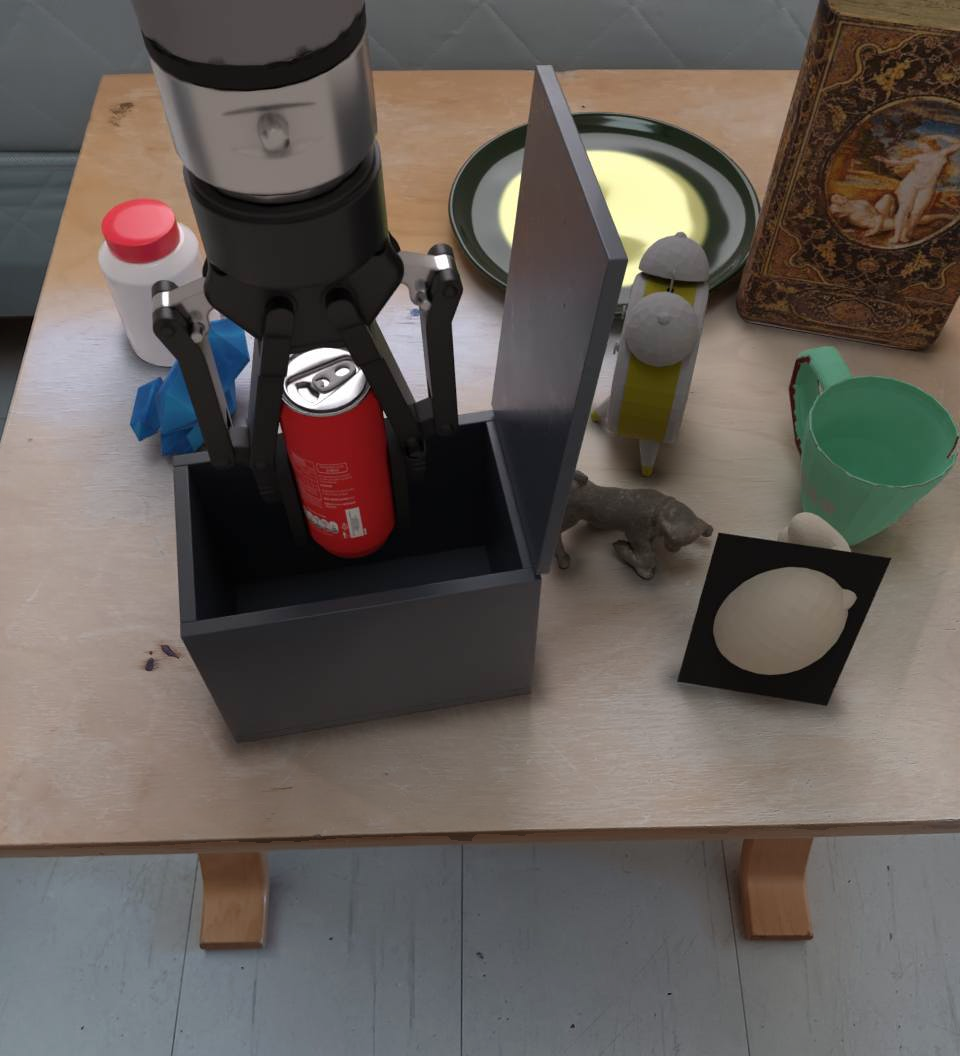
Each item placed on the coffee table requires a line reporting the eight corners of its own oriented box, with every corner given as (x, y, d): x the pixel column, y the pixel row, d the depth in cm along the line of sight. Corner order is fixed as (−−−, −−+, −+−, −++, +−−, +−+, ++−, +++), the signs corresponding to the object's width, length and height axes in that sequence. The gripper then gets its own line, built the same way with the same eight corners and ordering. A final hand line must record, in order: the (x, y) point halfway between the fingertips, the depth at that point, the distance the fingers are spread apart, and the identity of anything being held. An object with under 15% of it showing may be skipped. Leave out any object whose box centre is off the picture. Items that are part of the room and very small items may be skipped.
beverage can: (291, 522, 58) (249, 373, 48) (363, 478, 60) (337, 324, 49) (343, 579, 56) (310, 436, 46) (415, 532, 58) (399, 383, 47)
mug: (929, 555, 72) (990, 466, 64) (808, 590, 71) (853, 504, 62) (833, 412, 79) (876, 314, 71) (721, 441, 78) (751, 344, 69)
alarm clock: (664, 489, 75) (703, 339, 62) (576, 473, 76) (596, 322, 63) (684, 380, 81) (723, 221, 68) (602, 366, 82) (625, 206, 69)
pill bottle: (192, 289, 86) (156, 175, 77) (240, 338, 83) (209, 225, 74) (113, 329, 84) (66, 217, 74) (160, 381, 81) (117, 270, 71)
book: (732, 319, 84) (818, 12, 63) (739, 277, 87) (825, -32, 65) (929, 354, 82) (1089, 48, 61) (931, 309, 85) (1085, 1, 63)
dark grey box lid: (608, 260, 37) (629, 259, 37) (535, 64, 43) (552, 64, 43) (535, 575, 54) (549, 574, 54) (490, 403, 61) (503, 402, 61)
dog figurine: (534, 562, 72) (539, 499, 66) (552, 501, 75) (559, 434, 68) (697, 599, 70) (719, 538, 64) (710, 536, 73) (732, 471, 67)
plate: (752, 354, 82) (759, 331, 80) (422, 317, 85) (421, 294, 82) (758, 148, 96) (765, 124, 94) (475, 121, 98) (475, 96, 96)
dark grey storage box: (236, 743, 65) (180, 637, 53) (224, 582, 71) (172, 455, 59) (531, 692, 67) (542, 579, 55) (494, 540, 73) (497, 408, 61)
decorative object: (680, 609, 72) (819, 630, 72) (675, 712, 65) (830, 737, 64) (718, 462, 64) (877, 484, 63) (718, 562, 56) (897, 589, 55)
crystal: (86, 401, 71) (177, 271, 74) (139, 459, 79) (219, 341, 82) (170, 439, 69) (259, 305, 72) (215, 495, 77) (294, 373, 80)
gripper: (27, 242, 35) (196, 598, 55) (538, 178, 36) (519, 547, 56) (34, 115, 38) (190, 492, 58) (498, 62, 40) (493, 447, 60)
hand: (351, 519), depth 57 cm, fingers closed on beverage can, 5 cm apart
